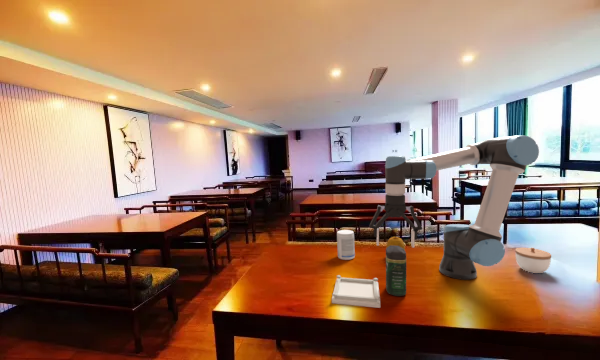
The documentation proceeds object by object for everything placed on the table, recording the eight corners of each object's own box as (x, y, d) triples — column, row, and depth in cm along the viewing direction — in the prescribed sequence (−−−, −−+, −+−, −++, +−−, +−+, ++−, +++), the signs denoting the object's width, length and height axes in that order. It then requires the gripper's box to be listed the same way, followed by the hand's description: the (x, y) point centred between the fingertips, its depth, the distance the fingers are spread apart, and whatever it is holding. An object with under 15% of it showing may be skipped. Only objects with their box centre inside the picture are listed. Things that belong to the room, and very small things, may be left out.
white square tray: (378, 285, 114) (377, 277, 114) (380, 307, 97) (380, 299, 97) (336, 281, 119) (336, 274, 118) (332, 303, 101) (331, 294, 101)
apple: (384, 254, 151) (384, 234, 150) (402, 254, 150) (402, 234, 149) (388, 260, 141) (388, 239, 140) (407, 260, 140) (406, 239, 139)
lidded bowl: (548, 279, 114) (549, 254, 113) (512, 270, 124) (512, 248, 123) (552, 270, 122) (553, 247, 122) (517, 263, 132) (518, 242, 131)
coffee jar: (408, 298, 103) (407, 252, 102) (387, 296, 105) (386, 251, 104) (404, 286, 112) (404, 244, 111) (385, 284, 114) (384, 243, 113)
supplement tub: (358, 256, 148) (357, 231, 147) (348, 261, 141) (347, 235, 140) (344, 253, 155) (343, 228, 154) (334, 257, 148) (333, 232, 147)
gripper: (426, 193, 106) (425, 244, 108) (363, 192, 112) (363, 241, 114) (431, 195, 99) (430, 250, 101) (363, 195, 105) (363, 246, 107)
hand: (395, 245), depth 107 cm, fingers open, 13 cm apart
